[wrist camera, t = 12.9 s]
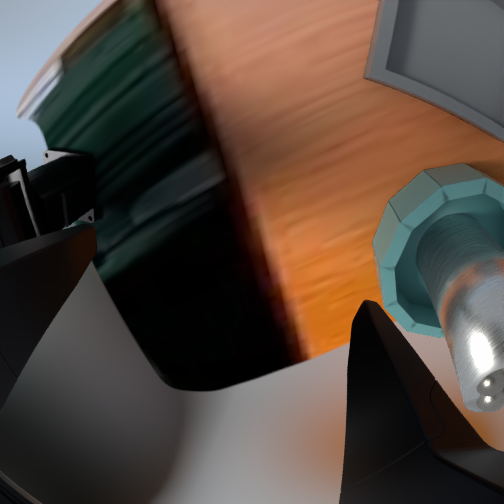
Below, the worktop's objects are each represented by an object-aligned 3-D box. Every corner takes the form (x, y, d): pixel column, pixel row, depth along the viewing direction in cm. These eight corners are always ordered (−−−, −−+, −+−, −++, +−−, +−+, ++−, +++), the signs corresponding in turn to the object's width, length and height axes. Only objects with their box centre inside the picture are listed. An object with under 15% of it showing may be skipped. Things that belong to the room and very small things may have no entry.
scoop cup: (400, 252, 20) (450, 410, 9) (462, 195, 17) (569, 323, 6) (440, 298, 21) (485, 436, 10) (495, 251, 18) (572, 375, 7)
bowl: (350, 290, 24) (353, 319, 21) (409, 138, 17) (426, 149, 14) (465, 318, 23) (476, 344, 20) (530, 200, 16) (552, 218, 13)
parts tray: (363, 78, 16) (369, 76, 14) (387, -53, 10) (394, -65, 8) (497, 139, 15) (513, 146, 13) (518, 18, 9) (533, 15, 7)
